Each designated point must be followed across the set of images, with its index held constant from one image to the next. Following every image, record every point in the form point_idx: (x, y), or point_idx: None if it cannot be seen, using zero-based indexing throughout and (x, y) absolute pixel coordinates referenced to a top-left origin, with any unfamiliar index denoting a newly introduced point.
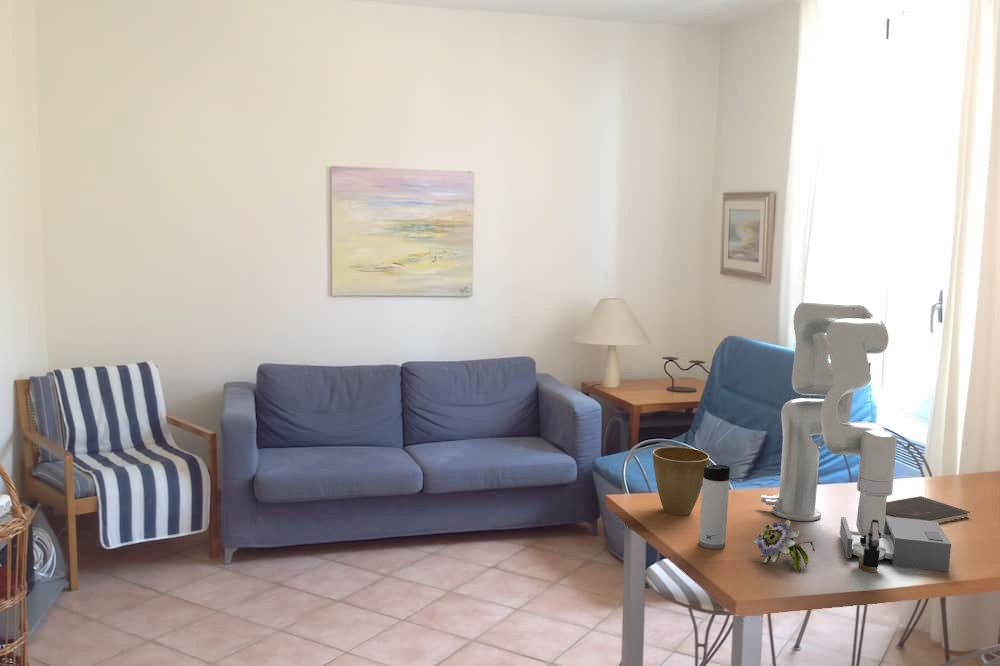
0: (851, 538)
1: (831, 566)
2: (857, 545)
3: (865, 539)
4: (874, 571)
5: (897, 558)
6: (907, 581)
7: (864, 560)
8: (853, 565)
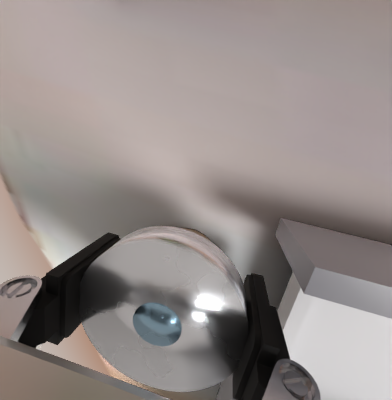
0: (319, 291)
1: (194, 124)
2: (181, 273)
3: (248, 361)
4: None
5: (229, 388)
6: None
7: (95, 244)
8: (217, 221)
